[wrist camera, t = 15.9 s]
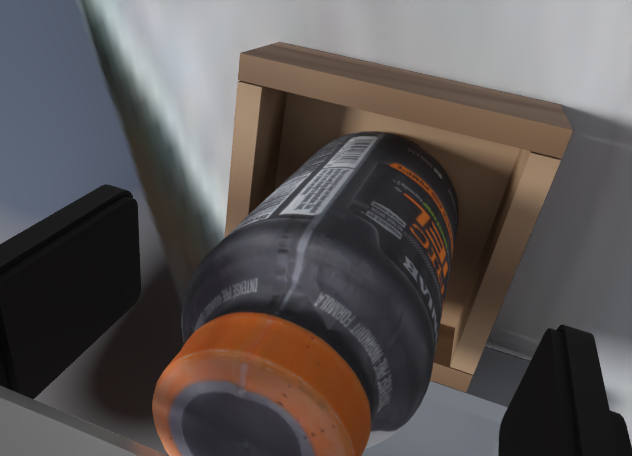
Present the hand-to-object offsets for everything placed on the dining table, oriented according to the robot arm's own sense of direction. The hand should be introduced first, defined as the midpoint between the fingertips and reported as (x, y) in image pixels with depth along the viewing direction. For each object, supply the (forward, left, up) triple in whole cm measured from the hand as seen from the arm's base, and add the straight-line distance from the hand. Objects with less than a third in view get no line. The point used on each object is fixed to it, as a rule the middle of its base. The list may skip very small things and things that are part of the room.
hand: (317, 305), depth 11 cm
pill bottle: (+1, 0, -8) cm, 8 cm away
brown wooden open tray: (+1, 0, -9) cm, 9 cm away
